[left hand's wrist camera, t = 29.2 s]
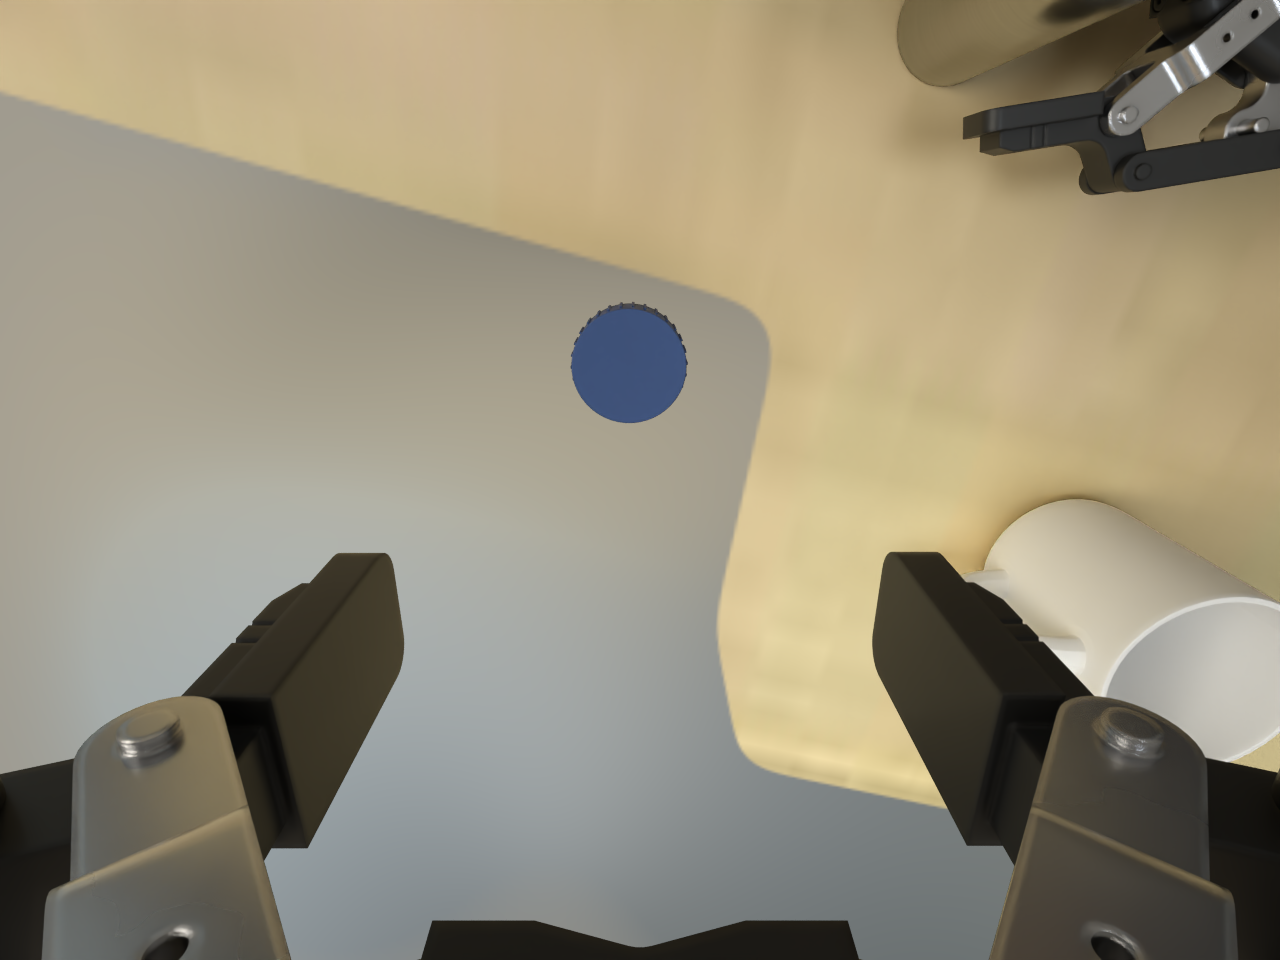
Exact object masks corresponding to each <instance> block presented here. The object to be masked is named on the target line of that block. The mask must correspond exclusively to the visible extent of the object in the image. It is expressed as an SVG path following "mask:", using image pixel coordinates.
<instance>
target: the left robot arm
mask: <svg viewBox="0 0 1280 960" xmlns="http://www.w3.org/2000/svg"><path fill="white" fill-rule="evenodd" d="M872 647H873V657H874V662H875V666H876V670H877V672H878V675H879V677H880V679H881V681H882V682H883V684H884V686H885V688H886V690H887V692H888V694H889V696H890V698H891V700H892V702H893V704H894V706H895V708H896V709H897V711H898V713H899V715H900V717H901V719H902V721H903V723H904V725H905V727H906V729H907V731H908V733H909V735H910V736H911V738H912V740H913V742H914V744H915V746H916V748H917V750H918V752H919V754H920V756H921V758H922V760H923V762H924V763H925V765H926V767H927V769H928V771H929V773H930V775H931V777H932V779H933V781H934V783H935V785H936V787H937V789H938V791H939V792H940V794H941V796H942V798H943V800H944V802H945V804H946V806H947V808H948V810H949V812H950V814H951V816H952V818H953V819H954V821H955V823H956V825H957V827H958V829H959V831H960V833H961V835H962V837H963V839H964V841H965V843H966V845H967V846H1003V847H1004V848H1005V850H1006V852H1007V854H1008V855H1009V857H1010V859H1011V861H1012V862H1013V864H1014V870H1013V874H1012V877H1011V881H1010V884H1009V888H1008V892H1007V895H1006V899H1005V903H1004V906H1003V910H1002V914H1001V917H1000V921H999V925H998V928H997V932H996V935H995V939H994V943H993V946H992V950H991V954H990V957H989V960H1280V769H1279V771H1278V773H1277V772H1272V771H1267V770H1262V769H1258V768H1253V767H1248V766H1243V765H1239V764H1234V763H1229V762H1225V761H1220V760H1215V759H1210V758H1206V757H1205V756H1204V754H1203V752H1202V750H1201V749H1200V747H1199V746H1198V745H1197V743H1196V742H1195V741H1194V740H1193V739H1192V738H1191V737H1190V736H1189V735H1188V734H1187V733H1185V732H1184V731H1183V730H1182V729H1180V728H1179V727H1178V726H1176V725H1175V724H1173V723H1172V722H1170V721H1169V720H1167V719H1165V718H1163V717H1161V716H1160V715H1158V714H1156V713H1154V712H1152V711H1149V710H1147V709H1145V708H1142V707H1140V706H1137V705H1135V704H1132V703H1128V702H1125V701H1122V700H1117V699H1113V698H1108V697H1100V696H1094V695H1093V694H1092V693H1091V692H1090V691H1089V690H1088V689H1087V687H1086V686H1085V685H1084V684H1083V683H1082V682H1081V681H1080V680H1079V679H1078V678H1077V677H1076V676H1075V675H1074V674H1073V673H1072V672H1071V671H1070V669H1069V668H1068V667H1067V666H1066V665H1065V664H1064V663H1063V662H1062V661H1061V660H1060V659H1059V658H1058V657H1057V656H1056V655H1055V654H1054V653H1053V651H1052V650H1051V649H1050V648H1049V647H1048V646H1047V645H1046V644H1045V643H1044V642H1043V641H1039V637H1038V636H1037V635H1036V633H1035V632H1034V631H1033V630H1032V629H1031V628H1030V627H1029V626H1028V625H1027V624H1023V620H1022V619H1021V618H1020V617H1019V615H1018V614H1017V613H1016V612H1015V611H1014V610H1013V609H1012V608H1011V607H1010V606H1009V605H1008V604H1007V603H1006V602H1005V601H1004V600H1003V599H1002V598H1000V597H998V596H997V595H995V594H993V593H992V592H990V591H988V590H986V589H985V588H983V587H981V586H980V585H978V584H976V583H974V582H966V581H965V580H964V579H963V578H962V577H961V576H960V575H959V574H958V572H957V571H956V570H955V569H954V568H953V567H952V566H951V565H950V563H949V562H948V561H947V560H946V559H945V558H944V557H943V556H942V555H941V554H940V553H938V552H890V553H889V554H887V556H886V558H885V560H884V563H883V568H882V575H881V582H880V589H879V595H878V602H877V609H876V616H875V622H874V629H873V639H872ZM403 654H404V635H403V628H402V621H401V614H400V608H399V601H398V594H397V588H396V581H395V574H394V568H393V564H392V561H391V558H390V557H389V555H388V554H386V553H338V554H336V555H335V556H334V557H333V558H332V559H331V560H330V561H329V562H328V563H327V564H326V565H325V567H324V568H323V569H322V570H321V571H320V572H319V573H318V574H317V576H316V577H315V578H314V579H313V580H312V581H311V582H310V583H302V584H300V585H298V586H297V587H295V588H293V589H291V590H290V591H288V592H286V593H285V594H283V595H281V596H279V597H278V598H276V599H274V600H273V601H271V602H270V603H269V605H268V606H267V607H266V608H265V609H264V610H263V611H262V612H261V613H260V614H259V615H258V616H257V617H256V618H255V619H254V620H253V623H252V625H249V626H248V627H247V628H246V629H245V630H244V631H243V632H242V633H241V634H240V635H239V636H238V637H237V638H236V643H231V644H230V645H229V647H228V648H227V649H226V650H225V651H224V652H223V653H222V654H221V655H220V656H219V657H218V658H217V659H216V660H215V661H214V662H213V663H212V664H211V665H210V666H209V667H208V669H207V670H206V671H205V672H204V673H203V674H202V675H201V676H200V677H199V678H198V679H197V680H196V681H195V682H194V683H193V684H192V685H191V686H190V687H189V688H188V690H187V691H186V692H185V693H184V694H183V695H182V696H181V697H172V698H168V699H163V700H158V701H155V702H152V703H148V704H145V705H143V706H140V707H138V708H135V709H133V710H131V711H128V712H126V713H124V714H122V715H120V716H119V717H117V718H115V719H113V720H111V721H110V722H108V723H107V724H105V725H104V726H102V727H101V728H100V729H98V730H97V731H96V732H95V733H94V734H92V735H91V736H90V737H89V738H88V739H87V740H86V741H85V742H84V743H83V745H82V746H81V747H80V749H79V750H78V752H77V754H76V756H75V758H74V759H70V760H65V761H60V762H56V763H51V764H46V765H42V766H37V767H32V768H28V769H23V770H18V771H13V772H9V773H4V774H0V960H291V957H290V954H289V950H288V946H287V943H286V939H285V935H284V932H283V928H282V924H281V921H280V917H279V914H278V910H277V906H276V903H275V899H274V895H273V892H272V888H271V885H270V881H269V877H268V874H267V870H266V866H265V863H264V860H265V858H266V857H267V855H268V853H269V851H270V850H271V848H308V846H309V845H310V843H311V841H312V839H313V837H314V835H315V833H316V831H317V829H318V827H319V825H320V823H321V822H322V820H323V818H324V816H325V814H326V812H327V810H328V808H329V806H330V804H331V803H332V801H333V799H334V797H335V795H336V793H337V791H338V789H339V787H340V785H341V783H342V782H343V780H344V778H345V776H346V774H347V772H348V770H349V768H350V766H351V764H352V763H353V761H354V759H355V757H356V755H357V753H358V751H359V749H360V747H361V745H362V743H363V741H364V740H365V738H366V736H367V734H368V732H369V730H370V728H371V726H372V724H373V722H374V720H375V719H376V717H377V715H378V713H379V711H380V709H381V707H382V705H383V703H384V702H385V700H386V698H387V696H388V694H389V692H390V690H391V688H392V686H393V684H394V682H395V681H396V679H397V677H398V674H399V672H400V669H401V665H402V661H403ZM419 960H861V959H859V958H858V954H857V951H856V947H855V944H854V941H853V937H852V934H851V931H850V927H849V924H848V921H742V922H739V923H735V924H732V925H728V926H724V927H720V928H716V929H713V930H709V931H705V932H702V933H698V934H694V935H691V936H687V937H683V938H679V939H676V940H672V941H668V942H665V943H661V944H657V945H654V946H649V947H631V946H626V945H623V944H619V943H615V942H612V941H608V940H604V939H601V938H597V937H593V936H589V935H586V934H582V933H578V932H574V931H571V930H567V929H563V928H560V927H556V926H552V925H549V924H545V923H541V922H537V921H432V924H431V927H430V930H429V934H428V937H427V941H426V944H425V947H424V951H423V954H422V958H421V959H419Z"/></svg>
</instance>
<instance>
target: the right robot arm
mask: <svg viewBox="0 0 1280 960" xmlns="http://www.w3.org/2000/svg"><path fill="white" fill-rule="evenodd" d="M1157 17H1158V23H1159V26H1160V28H1161V31H1160V32H1159V33H1158V34H1157V35H1156V36H1155V37H1153V38H1152V39H1151V40H1150V41H1149V42H1148V43H1147V44H1145V45H1144V46H1143V47H1142V48H1141V49H1140V50H1138V51H1137V52H1136V53H1135V54H1134V55H1133V56H1132V57H1130V58H1129V59H1128V60H1127V61H1126V62H1125V63H1123V64H1122V65H1121V66H1120V67H1119V68H1118V69H1117V70H1116V71H1115V76H1114V77H1113V78H1112V79H1111V80H1110V81H1109V82H1107V83H1106V84H1105V85H1104V86H1103V87H1102V88H1100V89H1099V90H1098V91H1097V92H1093V93H1087V94H1080V95H1074V96H1068V97H1062V98H1055V99H1049V100H1043V101H1037V102H1030V103H1024V104H1018V105H1012V106H1005V107H1000V108H994V109H990V110H985V111H982V112H979V113H976V114H973V115H970V116H967V117H964V118H963V139H970V138H977V137H980V152H982V153H985V154H989V155H993V156H996V155H1003V154H1009V153H1015V152H1022V151H1028V150H1034V149H1041V148H1047V147H1054V146H1060V145H1067V146H1071V147H1073V148H1074V149H1076V150H1077V151H1078V153H1079V155H1080V157H1081V160H1082V163H1083V167H1084V168H1083V169H1082V171H1081V173H1080V176H1079V185H1080V188H1081V190H1082V191H1083V192H1084V193H1086V194H1089V195H1097V194H1106V193H1112V192H1118V191H1123V192H1139V191H1145V190H1151V189H1157V188H1163V187H1169V186H1175V185H1181V184H1187V183H1193V182H1199V181H1205V180H1211V179H1217V178H1223V177H1229V176H1236V175H1242V174H1248V173H1254V172H1260V171H1266V170H1272V169H1278V168H1280V0H1151V5H1150V15H1149V19H1151V18H1157ZM1213 73H1215V74H1217V75H1218V76H1219V77H1221V78H1222V79H1224V80H1225V81H1226V82H1228V83H1229V84H1231V85H1232V86H1234V87H1237V88H1240V89H1244V92H1243V95H1242V97H1241V99H1240V101H1239V103H1238V104H1237V105H1236V106H1235V107H1234V108H1233V109H1231V110H1230V111H1228V112H1226V113H1223V114H1220V115H1218V116H1216V117H1215V118H1214V119H1213V120H1212V121H1211V122H1210V123H1209V125H1208V126H1207V127H1206V128H1204V129H1203V130H1202V131H1201V132H1200V135H1199V139H1200V141H1201V142H1196V143H1190V144H1184V145H1178V146H1172V147H1166V148H1160V149H1154V150H1148V151H1146V148H1145V144H1144V140H1143V136H1142V132H1141V128H1140V127H1142V126H1143V125H1144V124H1145V123H1146V122H1148V121H1149V120H1150V119H1151V118H1152V117H1154V116H1155V115H1156V114H1157V113H1158V112H1159V111H1161V110H1162V109H1163V108H1164V107H1165V106H1167V105H1168V104H1169V103H1170V102H1171V101H1173V100H1174V99H1175V98H1176V97H1177V96H1179V95H1180V94H1181V93H1183V92H1184V91H1186V90H1187V89H1189V88H1191V87H1193V86H1195V85H1197V84H1199V83H1201V82H1202V81H1204V80H1205V79H1207V78H1208V77H1210V76H1211V75H1212V74H1213Z"/></svg>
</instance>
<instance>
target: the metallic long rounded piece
mask: <svg viewBox="0 0 1280 960" xmlns="http://www.w3.org/2000/svg"><path fill="white" fill-rule="evenodd" d="M1143 1H1145V0H905V3H904V5H903V7H902V10H901V13H900V17H899V22H898V30H897V38H898V46H899V50H900V54H901V57H902V59H903V61H904V63H905V65H906V67H907V68H908V69H909V71H910V72H911V73H912V74H913V75H914V76H915V77H916V78H918V79H919V80H921V81H923V82H925V83H927V84H930V85H933V86H952V85H956V84H959V83H962V82H964V81H966V80H968V79H971V78H973V77H975V76H977V75H980V74H982V73H984V72H986V71H989V70H991V69H993V68H995V67H998V66H1000V65H1002V64H1004V63H1006V62H1009V61H1011V60H1013V59H1015V58H1018V57H1020V56H1022V55H1024V54H1027V53H1029V52H1031V51H1033V50H1036V49H1038V48H1040V47H1042V46H1044V45H1047V44H1049V43H1051V42H1053V41H1056V40H1058V39H1060V38H1062V37H1065V36H1067V35H1069V34H1071V33H1074V32H1076V31H1078V30H1080V29H1083V28H1085V27H1087V26H1089V25H1091V24H1094V23H1096V22H1098V21H1100V20H1103V19H1105V18H1107V17H1109V16H1112V15H1114V14H1116V13H1118V12H1121V11H1123V10H1125V9H1127V8H1130V7H1132V6H1134V5H1136V4H1138V3H1141V2H1143Z"/></svg>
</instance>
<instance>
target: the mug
mask: <svg viewBox="0 0 1280 960" xmlns="http://www.w3.org/2000/svg"><path fill="white" fill-rule="evenodd" d="M960 576H961V577H962V578H963V579H964V580H965V581H966V582H974V583H976V584H978V585H980V586H981V587H983V588H985V589H986V590H988V591H990V592H992V593H993V594H995V595H997V596H998V597H1000V598H1002V599H1003V600H1004V601H1005V602H1006V603H1007V604H1008V605H1009V606H1010V607H1011V608H1012V609H1013V610H1014V611H1015V612H1016V613H1017V614H1018V615H1019V617H1020V618H1021V619H1022V620H1023V624H1027V625H1028V626H1029V627H1030V628H1031V629H1032V630H1033V631H1034V632H1035V633H1036V635H1037V636H1038V637H1039V641H1043V642H1044V643H1045V644H1046V645H1047V646H1048V647H1049V648H1050V649H1051V650H1052V651H1053V653H1054V654H1055V655H1056V656H1057V657H1058V658H1059V659H1060V660H1061V661H1062V662H1063V663H1064V664H1065V665H1066V666H1067V667H1068V668H1069V669H1070V671H1071V672H1072V673H1073V674H1074V675H1075V676H1076V677H1077V678H1078V679H1079V680H1080V681H1081V682H1082V683H1083V684H1084V685H1085V686H1086V687H1087V689H1088V690H1089V691H1090V692H1091V693H1092V694H1093V695H1094V696H1100V697H1108V698H1113V699H1117V700H1122V701H1125V702H1128V703H1132V704H1135V705H1137V706H1140V707H1142V708H1145V709H1147V710H1149V711H1152V712H1154V713H1156V714H1158V715H1160V716H1161V717H1163V718H1165V719H1167V720H1169V721H1170V722H1172V723H1173V724H1175V725H1176V726H1178V727H1179V728H1180V729H1182V730H1183V731H1184V732H1185V733H1187V734H1188V735H1189V736H1190V737H1191V738H1192V739H1193V740H1194V741H1195V742H1196V743H1197V745H1198V746H1199V747H1200V749H1201V750H1202V752H1203V754H1204V756H1205V757H1206V758H1210V759H1215V760H1220V761H1225V762H1231V761H1234V760H1236V759H1238V758H1241V757H1243V756H1245V755H1247V754H1249V753H1251V752H1253V751H1254V750H1256V749H1258V748H1259V747H1261V746H1262V745H1264V744H1265V743H1267V742H1268V741H1269V740H1271V739H1272V738H1273V737H1275V736H1276V735H1277V734H1278V733H1279V732H1280V603H1279V602H1277V601H1276V600H1274V599H1272V598H1271V597H1269V596H1267V595H1266V594H1264V593H1262V592H1260V591H1259V590H1257V589H1255V588H1254V587H1252V586H1250V585H1248V584H1247V583H1245V582H1243V581H1242V580H1240V579H1238V578H1236V577H1235V576H1233V575H1231V574H1230V573H1228V572H1226V571H1225V570H1223V569H1221V568H1219V567H1218V566H1216V565H1214V564H1213V563H1211V562H1209V561H1207V560H1206V559H1204V558H1202V557H1201V556H1199V555H1197V554H1196V553H1194V552H1192V551H1190V550H1189V549H1187V548H1185V547H1184V546H1182V545H1180V544H1178V543H1177V542H1175V541H1173V540H1172V539H1170V538H1168V537H1166V536H1165V535H1163V534H1161V533H1160V532H1158V531H1156V530H1155V529H1153V528H1151V527H1149V526H1148V525H1146V524H1144V523H1143V522H1141V521H1139V520H1137V519H1136V518H1134V517H1132V516H1131V515H1129V514H1127V513H1125V512H1123V511H1122V510H1119V509H1117V508H1115V507H1113V506H1110V505H1107V504H1105V503H1101V502H1097V501H1093V500H1086V499H1069V500H1061V501H1056V502H1052V503H1048V504H1045V505H1043V506H1040V507H1037V508H1035V509H1033V510H1031V511H1029V512H1028V513H1026V514H1024V515H1023V516H1021V517H1020V518H1018V519H1017V520H1016V521H1014V522H1013V523H1012V524H1011V525H1010V526H1009V527H1008V528H1007V529H1006V530H1005V531H1004V532H1003V533H1002V534H1001V535H1000V536H999V538H998V539H997V540H996V542H995V543H994V545H993V547H992V548H991V550H990V552H989V555H988V557H987V560H986V563H985V566H984V570H981V571H974V572H969V573H965V574H962V575H960Z"/></svg>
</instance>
